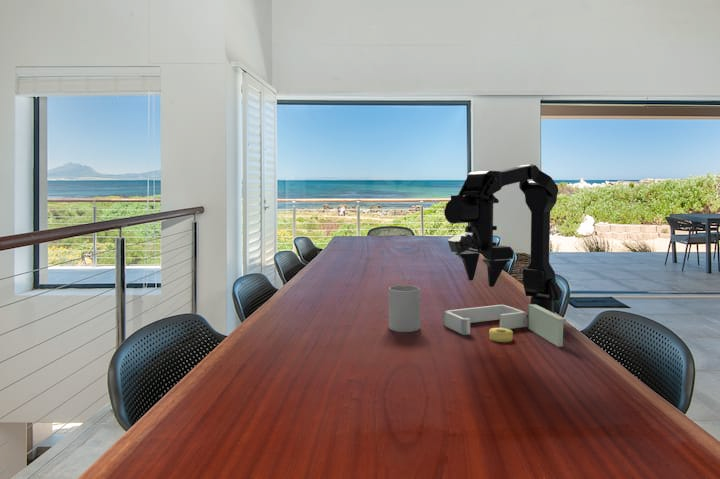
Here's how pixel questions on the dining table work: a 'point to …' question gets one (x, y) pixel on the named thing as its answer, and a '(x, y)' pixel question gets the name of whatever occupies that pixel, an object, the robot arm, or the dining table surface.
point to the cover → (546, 324)
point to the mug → (404, 308)
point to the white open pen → (484, 317)
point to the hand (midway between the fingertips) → (480, 283)
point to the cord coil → (501, 334)
